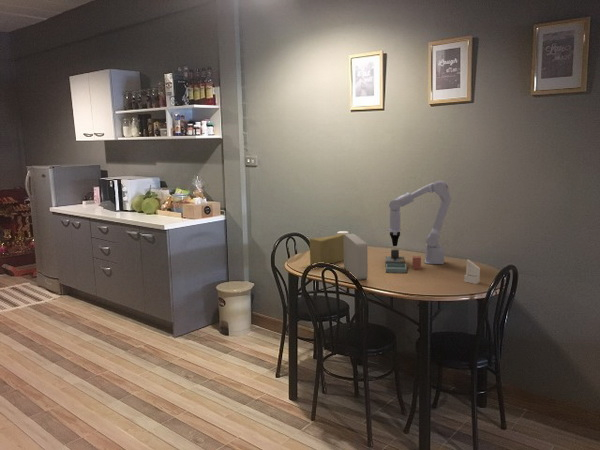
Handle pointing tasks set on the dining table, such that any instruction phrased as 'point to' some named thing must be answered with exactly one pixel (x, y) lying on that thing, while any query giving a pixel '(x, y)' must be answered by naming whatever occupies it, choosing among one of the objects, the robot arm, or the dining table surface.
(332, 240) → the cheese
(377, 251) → the dining table surface
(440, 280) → the dining table surface
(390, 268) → the tray
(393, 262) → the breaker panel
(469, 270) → the white wedge bracket
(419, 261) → the block
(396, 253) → the switch
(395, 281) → the dining table surface
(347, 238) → the tall light grey box
